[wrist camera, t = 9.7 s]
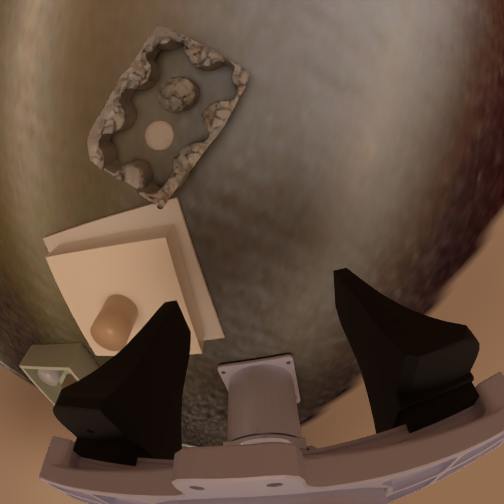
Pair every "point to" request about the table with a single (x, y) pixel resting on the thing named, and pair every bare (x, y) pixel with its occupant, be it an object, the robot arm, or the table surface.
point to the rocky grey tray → (161, 132)
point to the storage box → (57, 366)
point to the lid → (124, 285)
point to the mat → (144, 219)
